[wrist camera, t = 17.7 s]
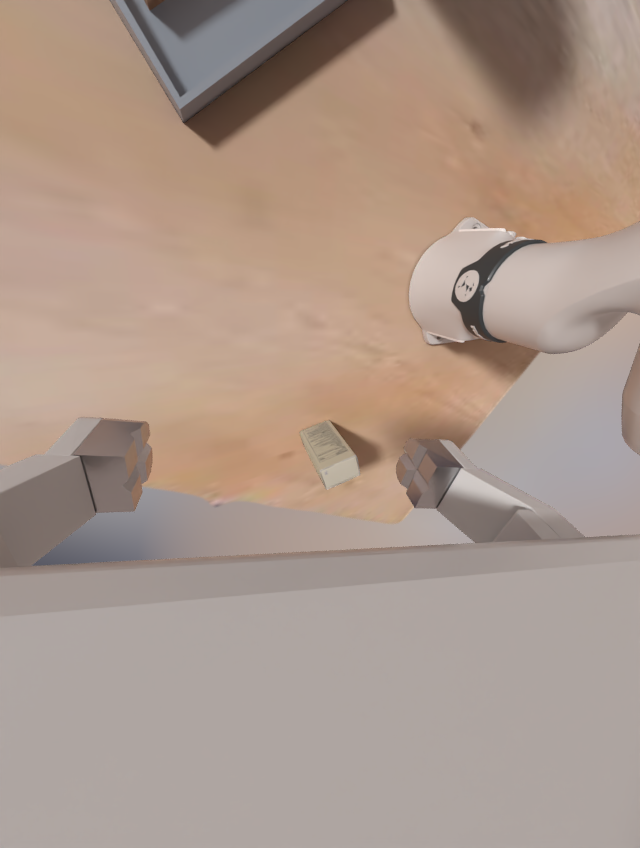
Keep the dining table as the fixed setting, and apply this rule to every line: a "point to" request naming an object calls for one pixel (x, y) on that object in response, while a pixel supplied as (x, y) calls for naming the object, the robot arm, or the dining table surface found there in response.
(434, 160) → the dining table surface
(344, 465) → the skincare box
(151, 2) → the rectangular block
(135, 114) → the dining table surface
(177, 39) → the tray
